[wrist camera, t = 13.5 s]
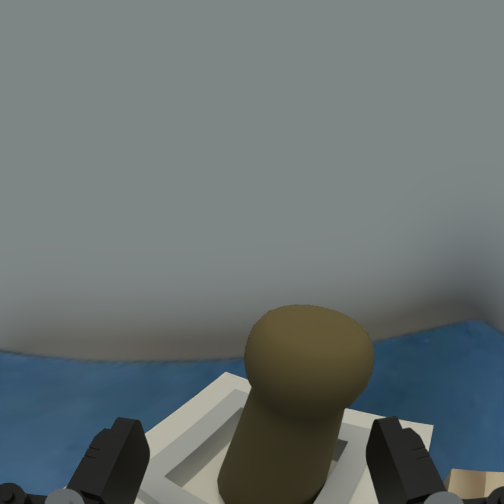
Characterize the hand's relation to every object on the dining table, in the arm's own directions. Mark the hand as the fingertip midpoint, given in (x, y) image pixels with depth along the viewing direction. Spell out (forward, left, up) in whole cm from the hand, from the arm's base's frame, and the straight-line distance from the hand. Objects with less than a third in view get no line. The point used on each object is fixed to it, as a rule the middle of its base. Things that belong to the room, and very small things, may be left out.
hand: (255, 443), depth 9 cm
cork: (-1, +3, -8) cm, 9 cm away
